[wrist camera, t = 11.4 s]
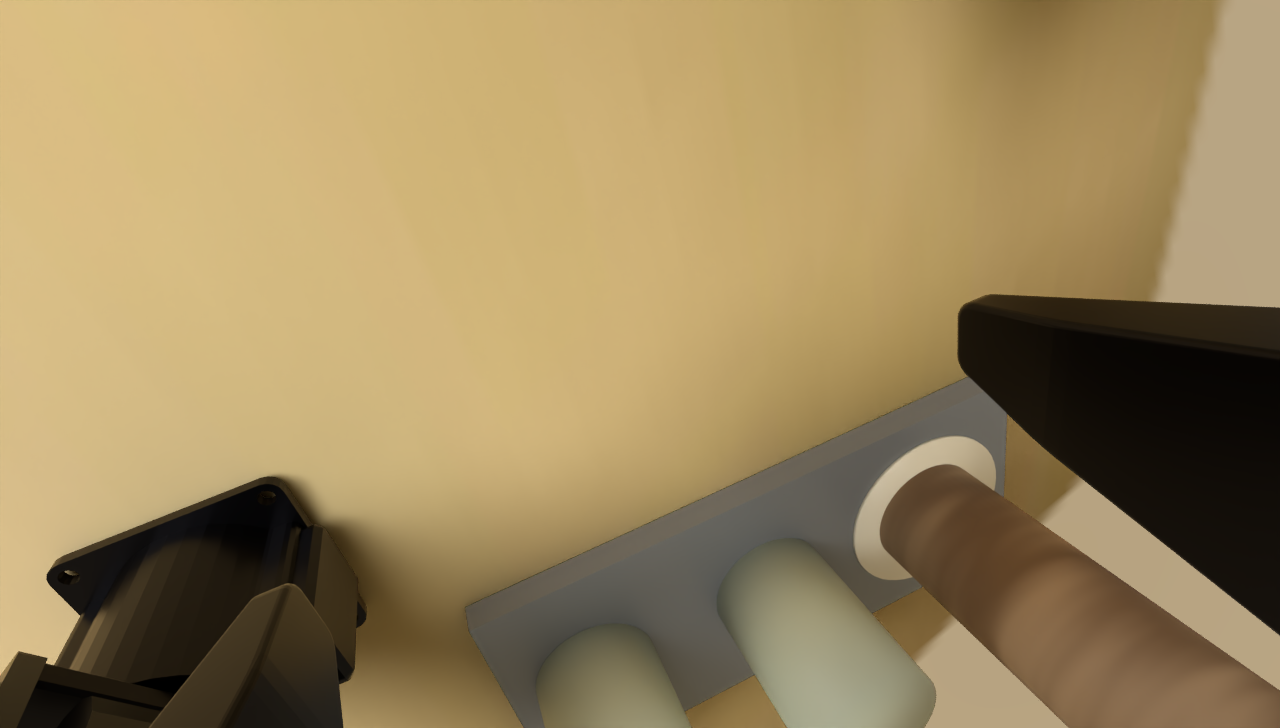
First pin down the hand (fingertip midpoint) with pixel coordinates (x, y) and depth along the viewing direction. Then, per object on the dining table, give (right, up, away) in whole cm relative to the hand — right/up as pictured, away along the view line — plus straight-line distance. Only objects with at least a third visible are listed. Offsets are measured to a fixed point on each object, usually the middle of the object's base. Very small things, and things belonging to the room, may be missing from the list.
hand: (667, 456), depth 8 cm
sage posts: (+2, -10, +19) cm, 22 cm away
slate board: (+5, -8, +21) cm, 23 cm away
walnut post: (+12, -6, +21) cm, 25 cm away
